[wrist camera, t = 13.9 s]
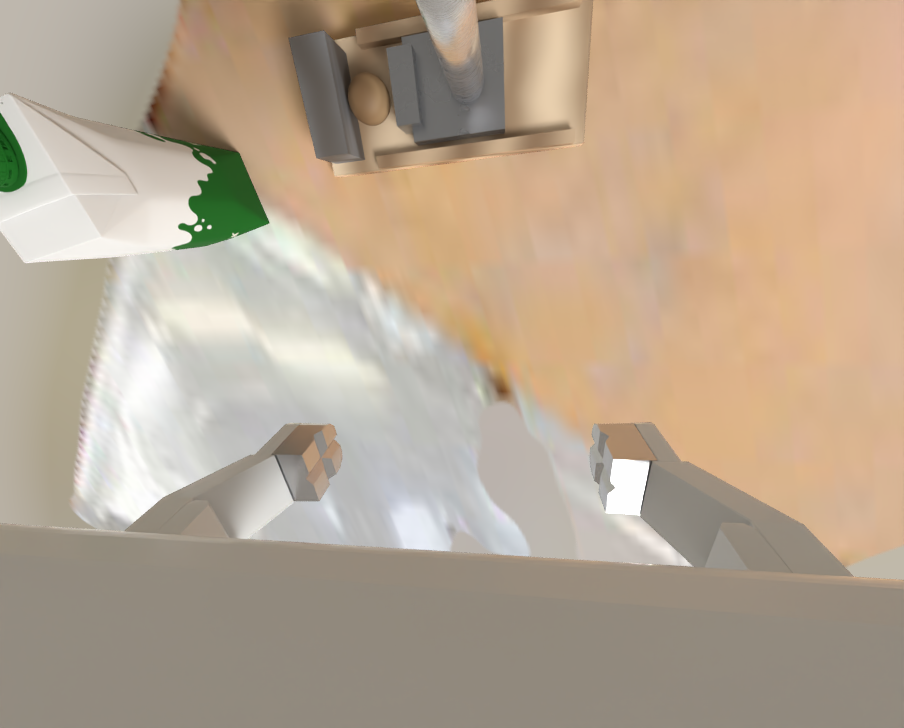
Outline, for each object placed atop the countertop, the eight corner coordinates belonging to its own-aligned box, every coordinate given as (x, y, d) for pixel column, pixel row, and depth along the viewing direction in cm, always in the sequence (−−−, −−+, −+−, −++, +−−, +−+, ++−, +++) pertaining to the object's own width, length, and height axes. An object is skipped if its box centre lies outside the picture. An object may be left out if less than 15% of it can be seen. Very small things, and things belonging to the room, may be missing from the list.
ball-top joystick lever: (502, 28, 26) (512, -418, 7) (504, 133, 29) (516, -4, 10) (395, 49, 27) (183, -284, 9) (408, 147, 30) (268, 48, 12)
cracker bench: (589, -2, 26) (610, -52, 21) (580, 145, 30) (596, 133, 25) (315, 53, 30) (278, 21, 25) (341, 177, 34) (314, 171, 29)
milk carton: (242, 140, 33) (-52, 58, 16) (280, 231, 37) (77, 250, 19) (176, 164, 35) (-152, 117, 17) (219, 249, 39) (-18, 281, 21)
